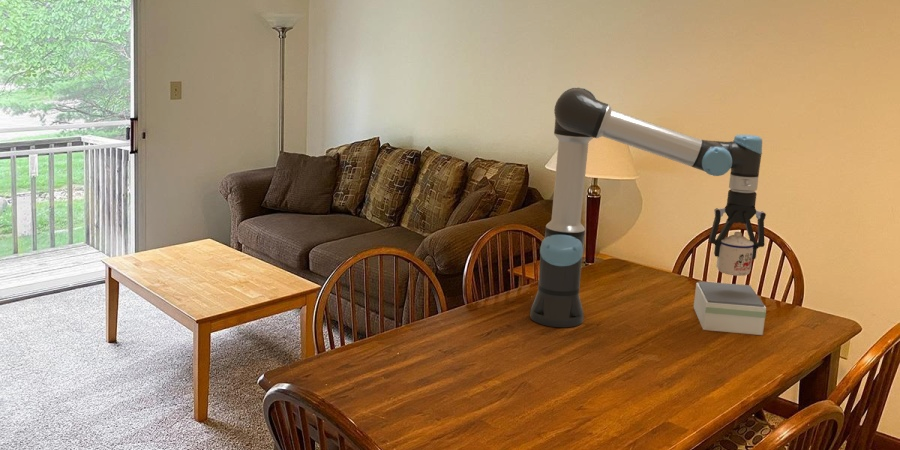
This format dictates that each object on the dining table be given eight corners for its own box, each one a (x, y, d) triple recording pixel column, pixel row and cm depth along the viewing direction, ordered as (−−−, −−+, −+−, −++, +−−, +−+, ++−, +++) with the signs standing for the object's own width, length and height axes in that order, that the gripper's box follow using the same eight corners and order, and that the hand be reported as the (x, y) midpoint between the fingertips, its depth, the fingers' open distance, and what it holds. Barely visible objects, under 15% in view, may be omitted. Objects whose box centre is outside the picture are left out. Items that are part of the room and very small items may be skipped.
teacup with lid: (736, 278, 220) (741, 237, 217) (710, 269, 227) (714, 230, 225) (763, 272, 226) (768, 233, 224) (736, 264, 234) (741, 226, 231)
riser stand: (703, 330, 222) (706, 301, 220) (693, 307, 241) (696, 280, 239) (762, 335, 219) (766, 306, 217) (748, 312, 239) (751, 285, 237)
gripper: (707, 190, 220) (698, 269, 225) (783, 195, 217) (773, 274, 222) (703, 185, 227) (694, 262, 232) (777, 190, 224) (767, 267, 229)
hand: (733, 268), depth 227 cm, fingers closed on teacup with lid, 7 cm apart
